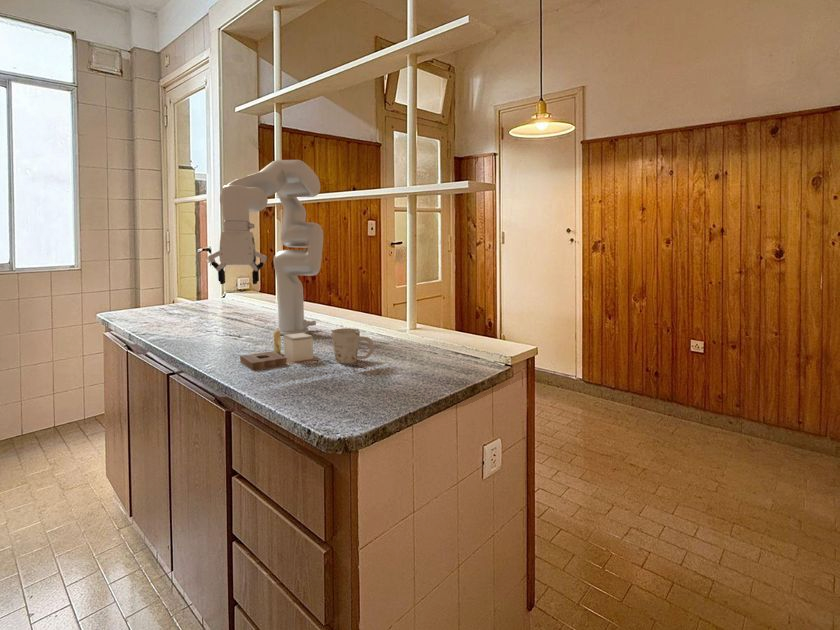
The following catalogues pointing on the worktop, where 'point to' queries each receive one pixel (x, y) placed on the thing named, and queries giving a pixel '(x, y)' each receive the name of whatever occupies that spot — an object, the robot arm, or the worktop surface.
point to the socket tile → (263, 360)
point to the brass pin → (277, 342)
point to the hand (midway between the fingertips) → (238, 283)
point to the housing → (298, 346)
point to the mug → (348, 345)
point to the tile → (302, 360)
